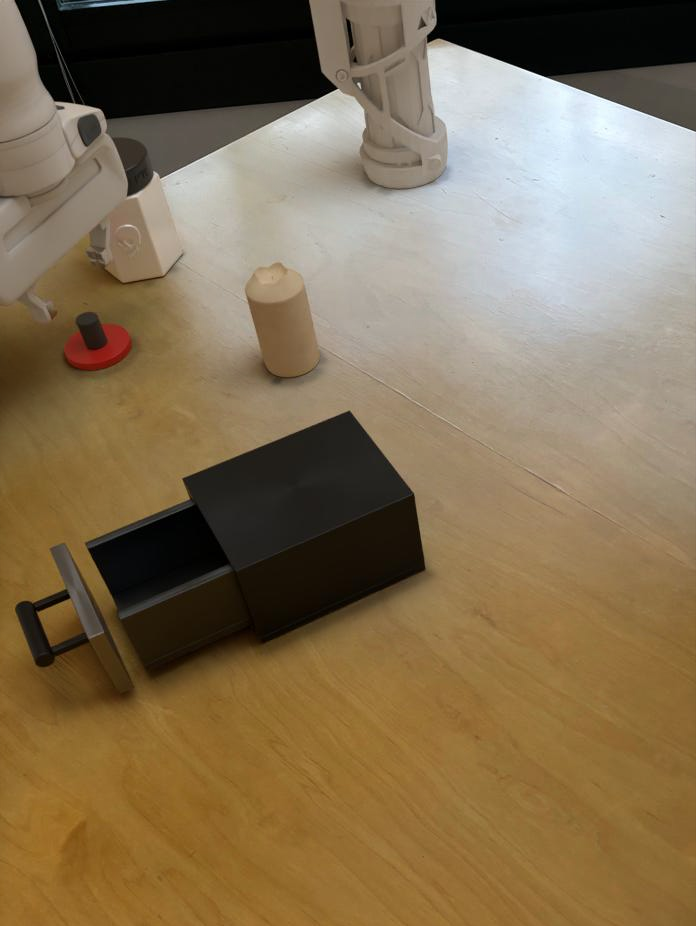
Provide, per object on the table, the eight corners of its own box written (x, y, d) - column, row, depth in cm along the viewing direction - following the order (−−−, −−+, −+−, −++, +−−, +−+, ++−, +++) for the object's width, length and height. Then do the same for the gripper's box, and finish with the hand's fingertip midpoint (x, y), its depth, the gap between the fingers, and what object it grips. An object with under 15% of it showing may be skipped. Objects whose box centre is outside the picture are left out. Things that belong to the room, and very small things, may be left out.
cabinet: (262, 644, 84) (235, 571, 77) (210, 552, 91) (181, 478, 84) (426, 569, 88) (414, 493, 81) (365, 486, 94) (349, 409, 88)
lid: (77, 378, 107) (63, 346, 104) (59, 344, 110) (45, 313, 107) (140, 355, 108) (128, 323, 105) (120, 322, 112) (108, 290, 109)
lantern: (447, 141, 131) (425, -95, 111) (452, 185, 125) (430, -57, 105) (341, 152, 131) (301, -82, 112) (341, 197, 125) (298, -43, 105)
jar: (102, 289, 116) (61, 183, 107) (103, 248, 121) (63, 144, 112) (184, 274, 117) (151, 168, 107) (182, 234, 122) (149, 130, 112)
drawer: (65, 719, 80) (29, 664, 74) (30, 627, 86) (-6, 570, 80) (283, 620, 84) (264, 562, 79) (235, 539, 90) (214, 479, 85)
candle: (255, 372, 106) (230, 283, 98) (281, 339, 109) (259, 250, 101) (304, 382, 104) (283, 293, 96) (329, 348, 107) (311, 259, 99)
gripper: (-30, 220, 87) (37, 361, 97) (113, 102, 98) (159, 239, 109) (-91, 209, 88) (-18, 348, 99) (57, 94, 100) (107, 230, 111)
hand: (75, 290), depth 104 cm, fingers open, 8 cm apart
